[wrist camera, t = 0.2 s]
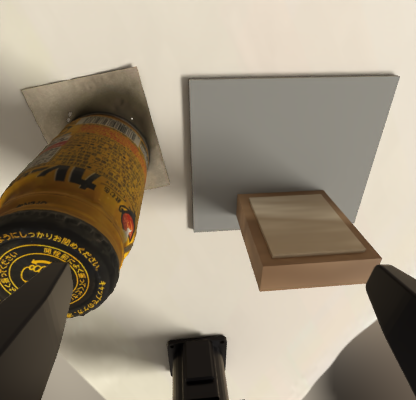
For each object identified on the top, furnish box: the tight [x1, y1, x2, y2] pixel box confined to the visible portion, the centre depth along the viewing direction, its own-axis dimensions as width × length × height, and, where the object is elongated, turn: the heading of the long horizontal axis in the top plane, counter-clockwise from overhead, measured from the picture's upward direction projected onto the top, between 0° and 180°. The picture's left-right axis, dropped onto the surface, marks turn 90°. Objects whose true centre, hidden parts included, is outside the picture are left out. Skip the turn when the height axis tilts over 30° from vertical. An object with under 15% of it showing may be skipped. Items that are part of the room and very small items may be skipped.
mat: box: [189, 75, 400, 232], centre depth 23 cm, size 12×14×1 cm
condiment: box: [0, 67, 170, 318], centre depth 16 cm, size 7×8×12 cm
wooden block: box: [236, 190, 382, 291], centre depth 21 cm, size 2×7×8 cm, turn 90°
